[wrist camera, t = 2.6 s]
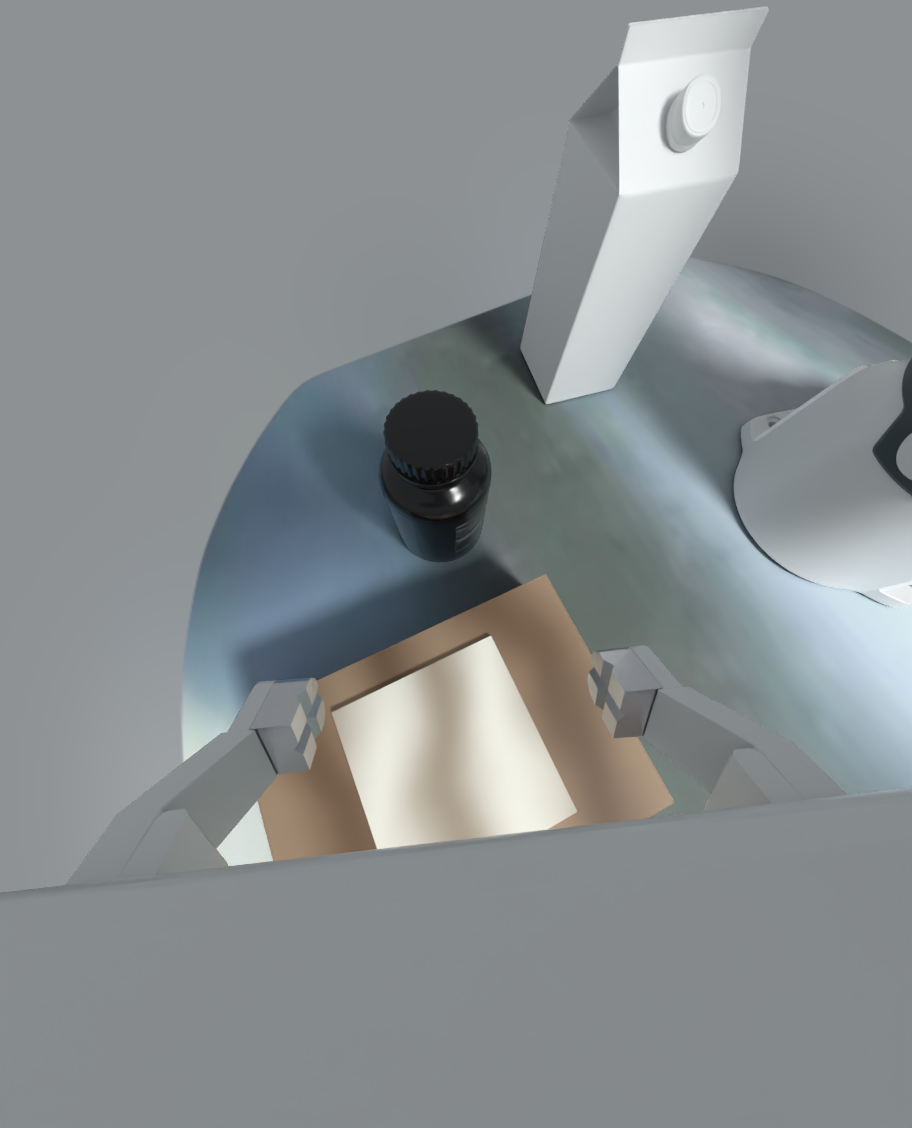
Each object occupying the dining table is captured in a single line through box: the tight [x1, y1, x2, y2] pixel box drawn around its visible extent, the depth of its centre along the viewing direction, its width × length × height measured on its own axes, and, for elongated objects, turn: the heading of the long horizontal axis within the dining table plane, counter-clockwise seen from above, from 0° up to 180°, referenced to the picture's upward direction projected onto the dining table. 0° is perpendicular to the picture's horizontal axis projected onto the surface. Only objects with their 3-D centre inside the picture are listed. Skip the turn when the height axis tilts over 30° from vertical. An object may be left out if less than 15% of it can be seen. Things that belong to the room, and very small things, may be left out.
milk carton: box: [520, 7, 769, 404], centre depth 24 cm, size 7×7×19 cm
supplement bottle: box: [379, 390, 491, 562], centre depth 23 cm, size 7×7×12 cm
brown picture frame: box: [258, 574, 674, 861], centre depth 21 cm, size 20×14×5 cm
